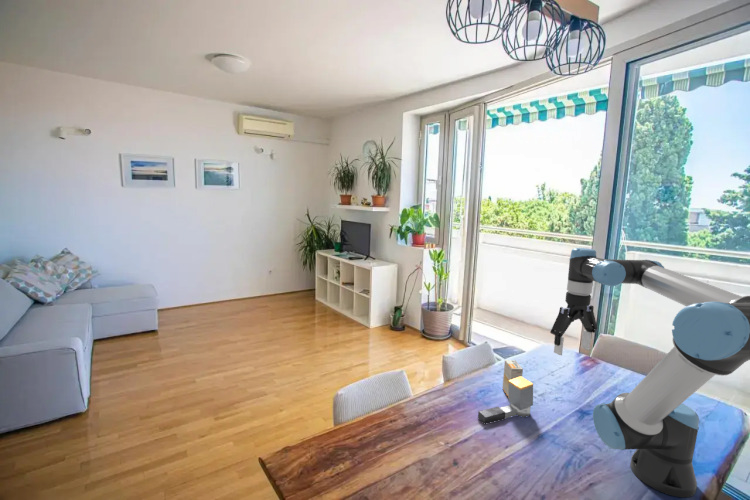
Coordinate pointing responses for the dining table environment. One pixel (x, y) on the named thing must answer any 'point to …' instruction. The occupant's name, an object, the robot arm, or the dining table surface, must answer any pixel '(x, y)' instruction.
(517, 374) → the supplement box
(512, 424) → the dining table surface
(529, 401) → the grey orange-topped block
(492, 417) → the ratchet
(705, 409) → the dining table surface
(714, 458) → the dining table surface
